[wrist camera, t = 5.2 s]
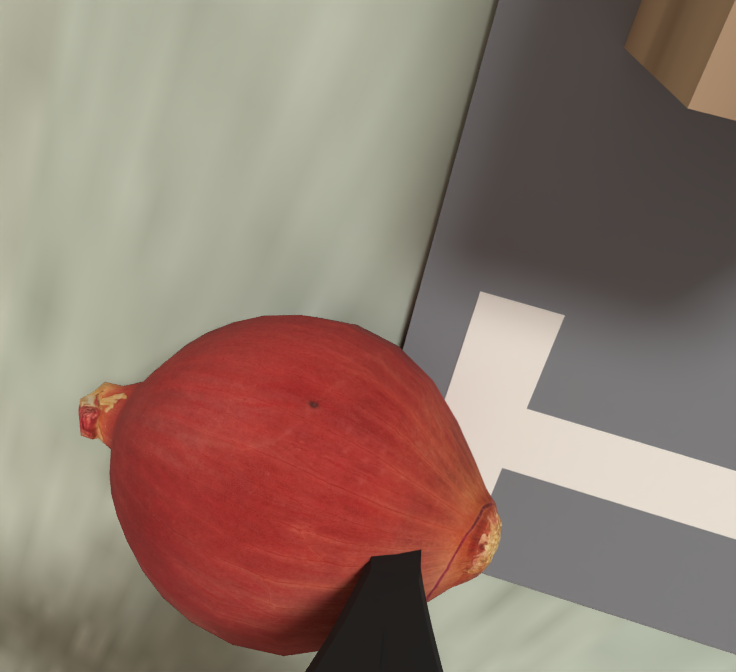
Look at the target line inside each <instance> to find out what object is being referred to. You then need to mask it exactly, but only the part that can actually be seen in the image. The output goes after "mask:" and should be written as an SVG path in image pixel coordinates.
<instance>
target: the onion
mask: <svg viewBox="0 0 736 672" xmlns="http://www.w3.org/2000/svg"><path fill="white" fill-rule="evenodd" d="M79 420H80V432H81V436H84V437H87V438H90V439H97V438H99V439H100V440H101V441H102V442H103V443H104V444H106V445H107V446H108V447H109V448H110V449H111V459H110V484H111V495H112V498H113V502H114V506H115V510H116V514H117V517H118V520H119V522H120V525H121V527H122V530H123V532H124V535H125V537H126V540H127V542H128V544H129V546H130V548H131V550H132V551H133V553H134V555H135V557H136V559H137V561H138V563H139V565H140V567H141V569H142V571H143V572H144V573H145V575H146V576H147V577H148V579H149V580H150V581H151V583H152V584H153V585H154V587H155V588H156V589H157V590H158V592H159V593H160V594H161V596H162V597H163V598H164V599H165V600H166V601H168V602H169V603H170V604H171V605H172V606H173V607H174V608H176V609H177V610H178V611H179V612H180V613H181V614H182V615H184V616H185V617H186V618H187V619H188V620H189V621H191V622H192V623H194V624H195V625H197V626H199V627H201V628H203V629H205V630H206V631H208V632H210V633H212V634H214V635H216V636H217V637H219V638H221V639H223V640H225V641H227V642H228V643H230V644H232V645H237V646H241V647H246V648H250V649H255V650H259V651H264V652H268V653H273V654H277V655H281V656H287V655H294V654H301V653H308V652H315V651H319V649H320V648H321V646H322V645H323V643H324V641H325V640H326V638H327V637H328V635H329V633H330V632H331V630H332V628H333V627H334V625H335V623H336V621H337V619H338V618H339V616H340V614H341V612H342V610H343V608H344V606H345V605H346V603H347V601H348V599H349V597H350V595H351V593H352V592H353V590H354V588H355V586H356V584H357V581H358V579H359V577H360V575H361V573H362V571H363V568H364V566H365V564H366V563H367V562H369V561H370V559H371V556H380V555H391V554H400V553H405V552H410V551H415V550H421V549H422V550H421V572H422V578H423V585H424V590H425V595H426V601H427V602H429V601H430V600H432V599H434V598H435V597H437V596H438V595H440V594H442V593H443V592H445V591H446V590H448V589H450V588H452V587H454V586H457V585H459V584H462V583H464V582H467V581H469V580H471V579H473V578H475V577H477V576H478V575H479V574H481V573H482V572H483V571H484V570H485V569H486V568H487V566H488V565H489V564H490V563H491V562H492V558H493V555H494V554H495V552H496V551H497V549H498V546H499V542H500V538H501V536H500V535H501V529H502V522H501V519H500V517H499V515H498V513H497V507H496V503H495V502H494V500H493V498H492V497H491V495H490V494H489V492H488V490H487V489H486V486H485V484H484V481H483V479H482V476H481V474H480V471H479V469H478V466H477V464H476V462H475V459H474V457H473V455H472V453H471V450H470V448H469V446H468V444H467V441H466V439H465V437H464V435H463V432H462V430H461V428H460V426H459V424H458V421H457V420H456V418H455V416H454V415H453V413H452V411H451V410H450V408H449V406H448V405H447V403H446V401H445V400H444V398H443V396H442V395H441V393H440V391H439V390H438V388H437V386H436V385H435V383H434V381H433V380H432V379H431V378H430V377H429V376H428V375H427V374H426V373H425V372H424V371H423V370H422V369H421V368H420V367H419V366H418V365H417V364H416V363H415V362H414V361H413V360H412V359H411V358H410V357H409V356H408V355H407V354H406V353H405V352H404V351H403V350H402V349H401V348H400V347H399V346H397V345H395V344H393V343H391V342H389V341H387V340H385V339H383V338H381V337H380V336H378V335H376V334H374V333H372V332H370V331H368V330H366V329H364V328H362V327H360V326H358V325H355V324H349V323H344V322H339V321H334V320H328V319H323V318H318V317H311V316H303V315H279V316H261V317H256V318H252V319H247V320H242V321H238V322H233V323H231V324H228V325H226V326H223V327H221V328H218V329H215V330H213V331H210V332H208V333H206V334H204V335H203V336H201V337H199V338H197V339H196V340H194V341H192V342H190V343H189V344H187V345H186V346H184V347H183V348H182V349H181V350H179V351H178V352H177V353H176V354H175V355H173V356H172V357H171V358H170V359H168V360H167V361H166V362H165V363H164V364H162V365H161V366H160V367H159V368H158V369H156V370H155V371H154V372H153V373H152V374H151V375H150V376H149V377H148V378H147V379H146V380H145V381H144V382H140V383H136V384H131V385H126V386H121V385H116V384H112V383H107V382H105V383H103V384H102V385H101V386H100V387H99V388H97V389H96V390H95V391H94V392H93V393H91V394H89V395H87V396H85V397H83V398H81V399H80V404H79Z"/></svg>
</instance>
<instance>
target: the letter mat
mask: <svg viewBox="0 0 736 672" xmlns="http://www.w3.org/2000/svg"><path fill="white" fill-rule="evenodd" d="M640 3H641V0H499V1H498V5H497V9H496V12H495V16H494V20H493V23H492V27H491V30H490V34H489V38H488V41H487V45H486V49H485V52H484V56H483V60H482V63H481V67H480V71H479V74H478V78H477V81H476V85H475V89H474V92H473V96H472V100H471V103H470V107H469V111H468V114H467V118H466V121H465V125H464V129H463V132H462V136H461V140H460V143H459V147H458V151H457V154H456V158H455V162H454V165H453V169H452V172H451V176H450V180H449V183H448V187H447V191H446V194H445V198H444V202H443V205H442V209H441V213H440V216H439V220H438V223H437V227H436V231H435V234H434V238H433V242H432V245H431V249H430V253H429V256H428V260H427V263H426V267H425V271H424V274H423V278H422V282H421V285H420V289H419V293H418V296H417V300H416V304H415V307H414V311H413V314H412V318H411V322H410V325H409V329H408V333H407V336H406V340H405V344H404V347H403V351H404V352H405V353H406V354H407V355H408V356H409V357H410V358H411V359H412V360H413V361H414V362H415V363H416V364H417V365H418V366H419V367H420V368H421V369H422V370H423V371H424V372H425V373H426V374H427V375H428V376H429V377H430V378H431V379H432V380H433V381H434V383H435V385H436V386H437V388H438V390H439V391H440V393H441V395H442V396H443V398H444V400H445V401H446V403H447V405H448V406H449V408H450V410H451V411H452V413H453V415H454V416H455V418H456V420H457V421H458V424H459V426H460V428H461V430H462V432H463V435H464V437H465V439H466V441H467V444H468V446H469V448H470V450H471V453H472V455H473V457H474V459H475V462H476V464H477V466H478V469H479V471H480V474H481V476H482V479H483V481H484V484H485V486H486V489H487V490H488V492H489V494H490V495H491V497H492V498H493V500H494V502H495V503H496V507H497V513H498V515H499V517H500V519H501V522H502V529H501V535H500V536H501V538H500V542H499V546H498V549H497V551H496V552H495V554H494V555H493V558H492V562H491V563H490V564H489V565H488V566H487V568H486V569H485V570H484V571H483V572H482V573H483V574H486V575H489V576H493V577H496V578H499V579H502V580H505V581H508V582H511V583H514V584H517V585H521V586H524V587H527V588H530V589H533V590H536V591H539V592H542V593H546V594H549V595H552V596H555V597H558V598H561V599H564V600H567V601H570V602H574V603H577V604H580V605H583V606H586V607H589V608H592V609H595V610H599V611H602V612H605V613H608V614H611V615H614V616H617V617H620V618H624V619H627V620H630V621H633V622H636V623H639V624H642V625H645V626H648V627H652V628H655V629H658V630H661V631H664V632H667V633H670V634H673V635H677V636H680V637H683V638H686V639H689V640H692V641H695V642H698V643H701V644H705V645H708V646H711V647H714V648H717V649H720V650H723V651H726V652H730V653H733V654H736V121H735V120H731V119H727V118H723V117H719V116H715V115H711V114H708V113H704V112H700V111H696V110H692V109H688V108H687V107H686V106H684V105H683V104H682V103H681V102H680V101H679V100H678V99H677V98H676V97H675V96H674V95H673V94H672V93H671V92H670V91H669V90H668V89H667V88H666V87H665V86H664V85H662V84H661V83H660V82H659V81H658V80H657V79H656V78H655V77H654V76H653V75H652V74H651V73H650V72H649V71H648V70H647V69H646V68H645V67H644V66H643V65H641V64H640V63H639V62H638V61H637V60H636V59H635V58H634V57H633V56H632V55H631V54H630V53H629V52H628V51H627V50H626V49H625V48H624V46H625V43H626V41H627V38H628V35H629V33H630V30H631V27H632V25H633V22H634V19H635V17H636V14H637V11H638V9H639V6H640Z"/></svg>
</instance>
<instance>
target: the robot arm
mask: <svg viewBox="0 0 736 672" xmlns="http://www.w3.org/2000/svg"><path fill="white" fill-rule="evenodd" d="M421 550H422V549H421ZM421 550H415V551H410V552H405V553H400V554H391V555H380V556H371V559H370V561H369V562H367V563H366V564H365V566H364V568H363V571H362V573H361V575H360V577H359V579H358V581H357V584H356V586H355V588H354V590H353V592H352V593H351V595H350V597H349V599H348V601H347V603H346V605H345V606H344V608H343V610H342V612H341V614H340V616H339V618H338V619H337V621H336V623H335V625H334V627H333V628H332V630H331V632H330V633H329V635H328V637H327V638H326V640H325V641H324V643H323V645H322V646H321V648H320V649H319V651H318V652H317V654H316V656H315V657H314V659H313V660H312V662H311V663H310V665H309V667H308V668H307V670H306V671H305V672H443V669H442V665H441V661H440V657H439V653H438V649H437V645H436V641H435V637H434V633H433V629H432V625H431V620H430V616H429V611H428V606H427V601H426V595H425V590H424V585H423V578H422V572H421Z"/></svg>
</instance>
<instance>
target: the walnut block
mask: <svg viewBox="0 0 736 672" xmlns="http://www.w3.org/2000/svg"><path fill="white" fill-rule="evenodd" d="M624 48H625V49H626V50H627V51H628V52H629V53H630V54H631V55H632V56H633V57H634V58H635V59H636V60H637V61H638V62H639V63H640V64H641V65H643V66H644V67H645V68H646V69H647V70H648V71H649V72H650V73H651V74H652V75H653V76H654V77H655V78H656V79H657V80H658V81H659V82H660V83H661V84H662V85H664V86H665V87H666V88H667V89H668V90H669V91H670V92H671V93H672V94H673V95H674V96H675V97H676V98H677V99H678V100H679V101H680V102H681V103H682V104H683V105H684V106H686V107H687V108H688V109H692V110H696V111H700V112H704V113H708V114H711V115H715V116H719V117H723V118H727V119H731V120H735V121H736V0H641V3H640V6H639V9H638V11H637V14H636V17H635V19H634V22H633V25H632V27H631V30H630V33H629V35H628V38H627V41H626V43H625V46H624Z"/></svg>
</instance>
